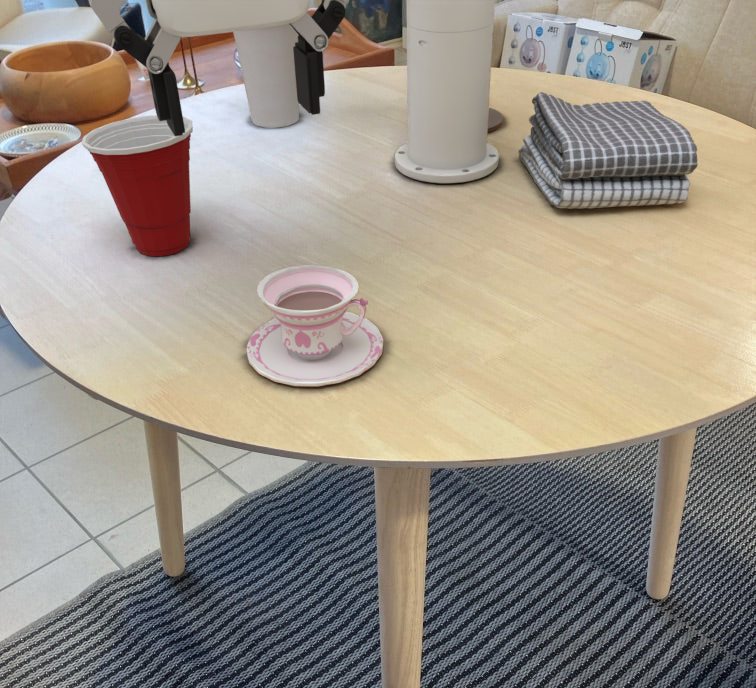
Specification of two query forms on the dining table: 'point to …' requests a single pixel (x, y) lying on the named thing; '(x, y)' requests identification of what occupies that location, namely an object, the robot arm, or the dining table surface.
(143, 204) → the plastic cup
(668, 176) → the towel
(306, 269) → the teacup
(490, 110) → the coaster
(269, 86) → the coffee cup
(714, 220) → the dining table surface
